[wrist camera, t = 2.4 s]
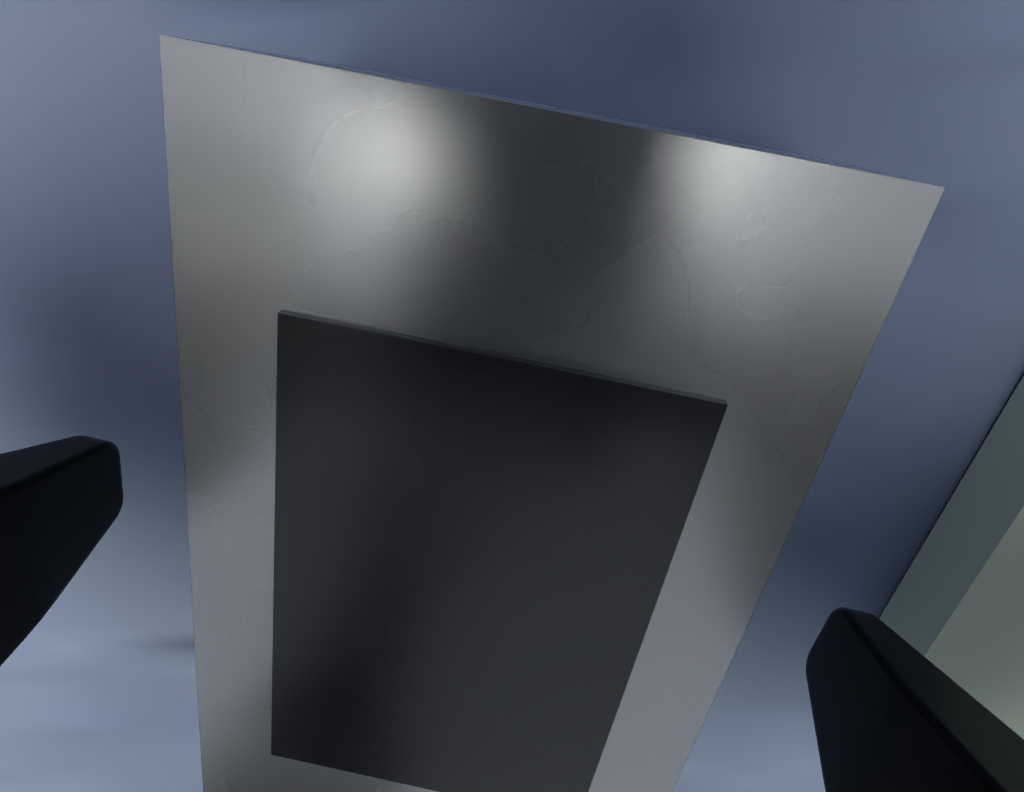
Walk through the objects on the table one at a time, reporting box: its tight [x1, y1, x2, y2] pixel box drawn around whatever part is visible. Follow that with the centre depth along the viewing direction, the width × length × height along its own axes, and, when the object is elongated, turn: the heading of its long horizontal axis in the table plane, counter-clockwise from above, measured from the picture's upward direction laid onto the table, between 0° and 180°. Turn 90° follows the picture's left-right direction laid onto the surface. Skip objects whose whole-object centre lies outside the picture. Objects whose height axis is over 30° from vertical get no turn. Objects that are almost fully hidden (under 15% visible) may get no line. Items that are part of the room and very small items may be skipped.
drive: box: [159, 35, 945, 792], centre depth 9 cm, size 10×6×4 cm, turn 170°
